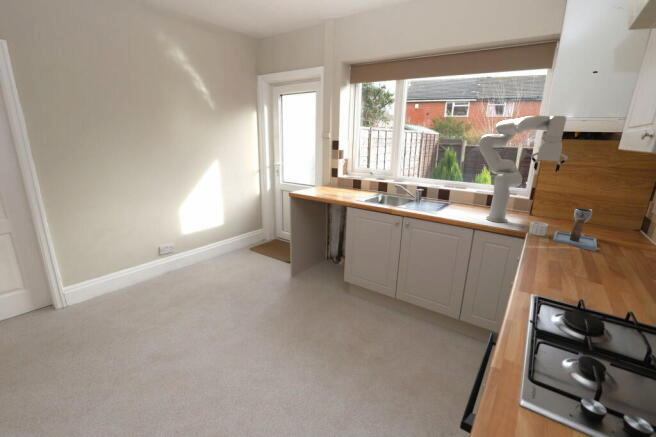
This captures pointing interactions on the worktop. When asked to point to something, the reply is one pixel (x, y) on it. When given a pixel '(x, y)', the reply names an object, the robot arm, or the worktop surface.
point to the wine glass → (582, 214)
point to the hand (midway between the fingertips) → (545, 170)
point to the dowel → (577, 229)
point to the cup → (538, 228)
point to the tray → (583, 241)
